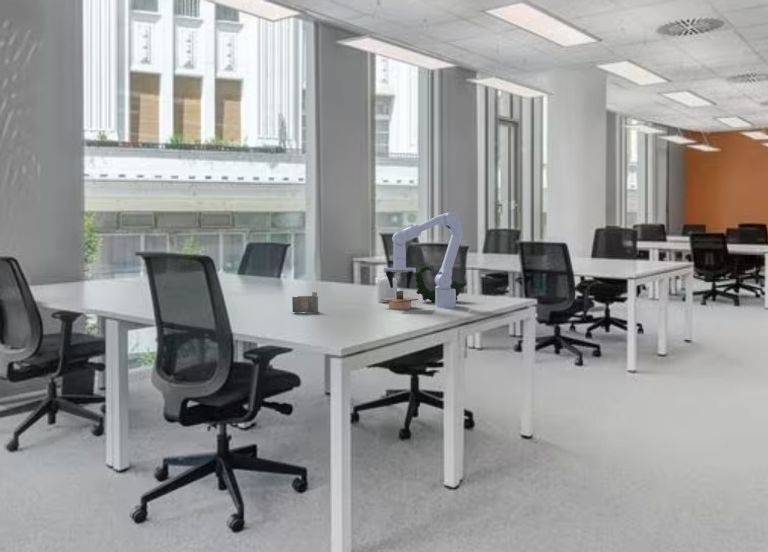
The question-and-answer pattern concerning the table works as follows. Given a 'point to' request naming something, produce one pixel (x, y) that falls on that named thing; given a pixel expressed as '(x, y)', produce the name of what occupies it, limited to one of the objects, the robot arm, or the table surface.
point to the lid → (399, 298)
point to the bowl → (400, 305)
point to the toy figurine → (431, 292)
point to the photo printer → (386, 289)
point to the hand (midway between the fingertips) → (399, 287)
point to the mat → (418, 311)
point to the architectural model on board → (305, 303)
